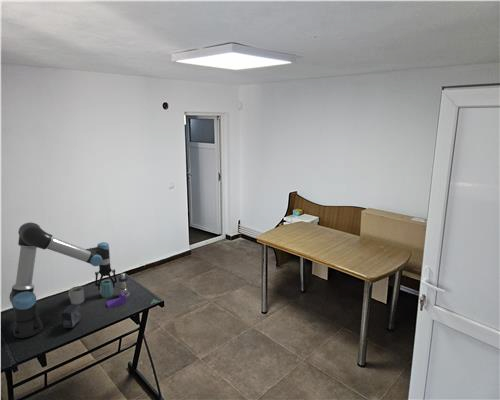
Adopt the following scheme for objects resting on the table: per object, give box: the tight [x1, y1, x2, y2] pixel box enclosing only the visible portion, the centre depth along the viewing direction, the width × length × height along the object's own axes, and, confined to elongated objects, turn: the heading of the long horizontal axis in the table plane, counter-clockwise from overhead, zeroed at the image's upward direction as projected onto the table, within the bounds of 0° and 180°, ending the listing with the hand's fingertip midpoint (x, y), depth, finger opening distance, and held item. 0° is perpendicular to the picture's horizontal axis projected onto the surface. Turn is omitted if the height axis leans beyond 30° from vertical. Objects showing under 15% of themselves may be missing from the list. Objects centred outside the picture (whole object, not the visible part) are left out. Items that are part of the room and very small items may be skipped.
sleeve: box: [100, 279, 113, 298], centre depth 250 cm, size 7×7×11 cm
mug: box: [67, 285, 86, 305], centre depth 242 cm, size 11×10×10 cm
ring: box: [118, 275, 128, 283], centre depth 249 cm, size 6×6×2 cm
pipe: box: [119, 272, 128, 296], centre depth 249 cm, size 5×5×16 cm
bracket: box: [105, 292, 127, 309], centre depth 239 cm, size 12×7×7 cm, turn 121°
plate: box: [118, 291, 131, 299], centre depth 251 cm, size 8×8×1 cm
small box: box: [61, 303, 82, 329], centre depth 214 cm, size 11×6×10 cm, turn 178°
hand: (106, 292), depth 250 cm, fingers closed on sleeve, 7 cm apart
